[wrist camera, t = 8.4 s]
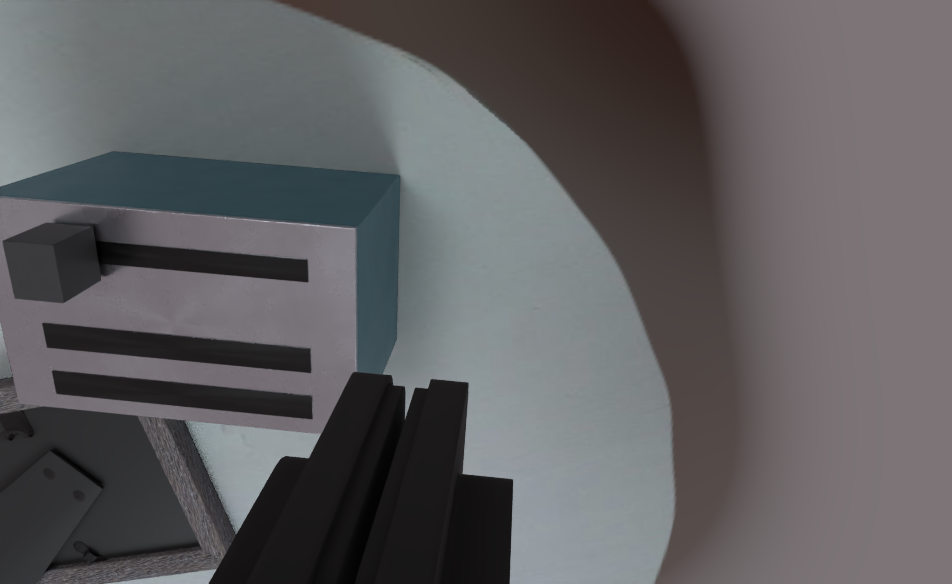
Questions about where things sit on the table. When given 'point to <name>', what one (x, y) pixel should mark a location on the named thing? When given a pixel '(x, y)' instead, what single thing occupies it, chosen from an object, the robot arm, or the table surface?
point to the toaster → (208, 289)
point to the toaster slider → (52, 262)
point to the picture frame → (102, 497)
